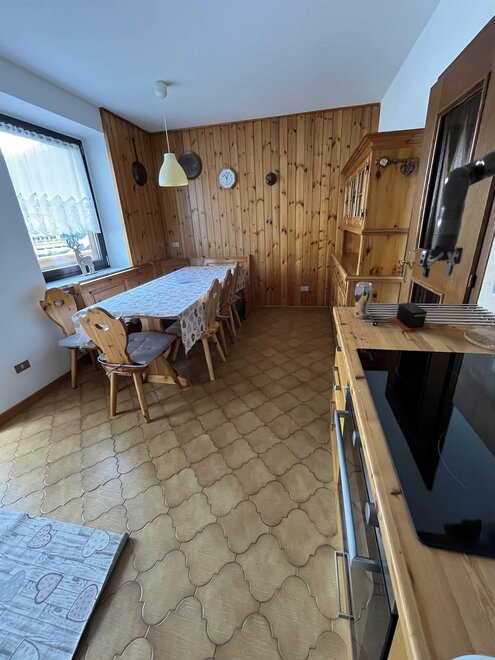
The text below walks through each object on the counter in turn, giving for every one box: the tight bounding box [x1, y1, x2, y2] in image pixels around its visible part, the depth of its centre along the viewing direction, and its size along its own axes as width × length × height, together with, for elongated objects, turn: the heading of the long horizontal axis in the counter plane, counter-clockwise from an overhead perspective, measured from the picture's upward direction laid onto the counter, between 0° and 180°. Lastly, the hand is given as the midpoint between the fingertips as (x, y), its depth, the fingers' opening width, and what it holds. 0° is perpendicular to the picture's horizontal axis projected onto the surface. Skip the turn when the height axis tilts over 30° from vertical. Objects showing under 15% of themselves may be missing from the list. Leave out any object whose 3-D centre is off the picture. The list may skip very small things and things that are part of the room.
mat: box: [387, 316, 432, 332], centre depth 121 cm, size 12×12×1 cm
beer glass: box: [353, 281, 373, 319], centre depth 127 cm, size 7×7×15 cm
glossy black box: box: [395, 302, 428, 328], centre depth 118 cm, size 11×6×7 cm, turn 3°
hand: (436, 276), depth 107 cm, fingers open, 8 cm apart
